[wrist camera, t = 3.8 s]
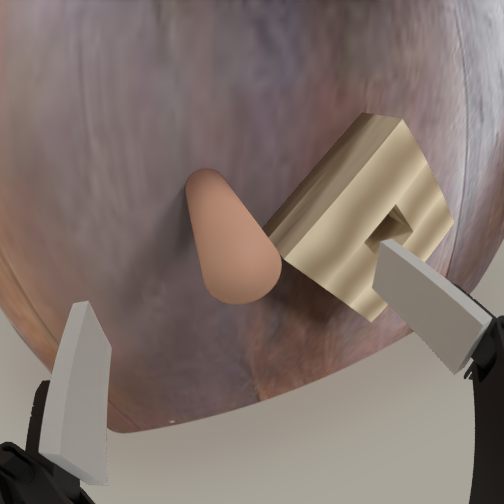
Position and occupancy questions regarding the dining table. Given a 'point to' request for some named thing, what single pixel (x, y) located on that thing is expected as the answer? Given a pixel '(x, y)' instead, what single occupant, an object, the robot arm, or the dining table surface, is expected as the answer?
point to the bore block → (361, 211)
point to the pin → (229, 242)
